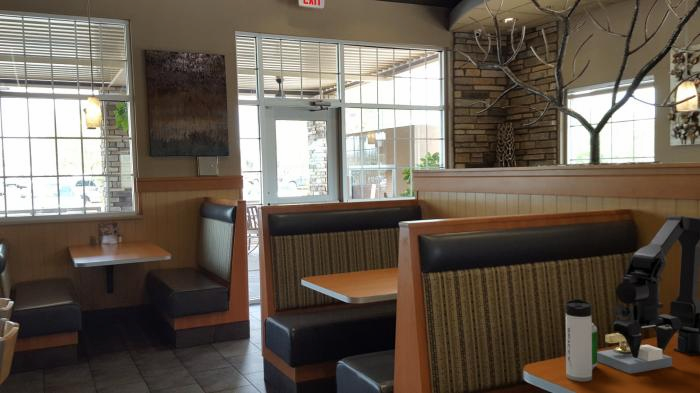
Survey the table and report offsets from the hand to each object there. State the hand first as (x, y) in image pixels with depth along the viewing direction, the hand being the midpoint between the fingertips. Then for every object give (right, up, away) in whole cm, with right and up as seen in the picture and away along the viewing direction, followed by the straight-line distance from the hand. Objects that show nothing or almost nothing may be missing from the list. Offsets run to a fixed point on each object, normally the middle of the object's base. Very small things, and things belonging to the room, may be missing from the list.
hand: (647, 355), depth 160 cm
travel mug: (-22, -4, -7) cm, 23 cm away
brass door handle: (-4, 0, +6) cm, 7 cm away
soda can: (-17, -4, +1) cm, 18 cm away
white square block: (0, -1, 0) cm, 0 cm away
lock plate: (-3, -3, +3) cm, 5 cm away
